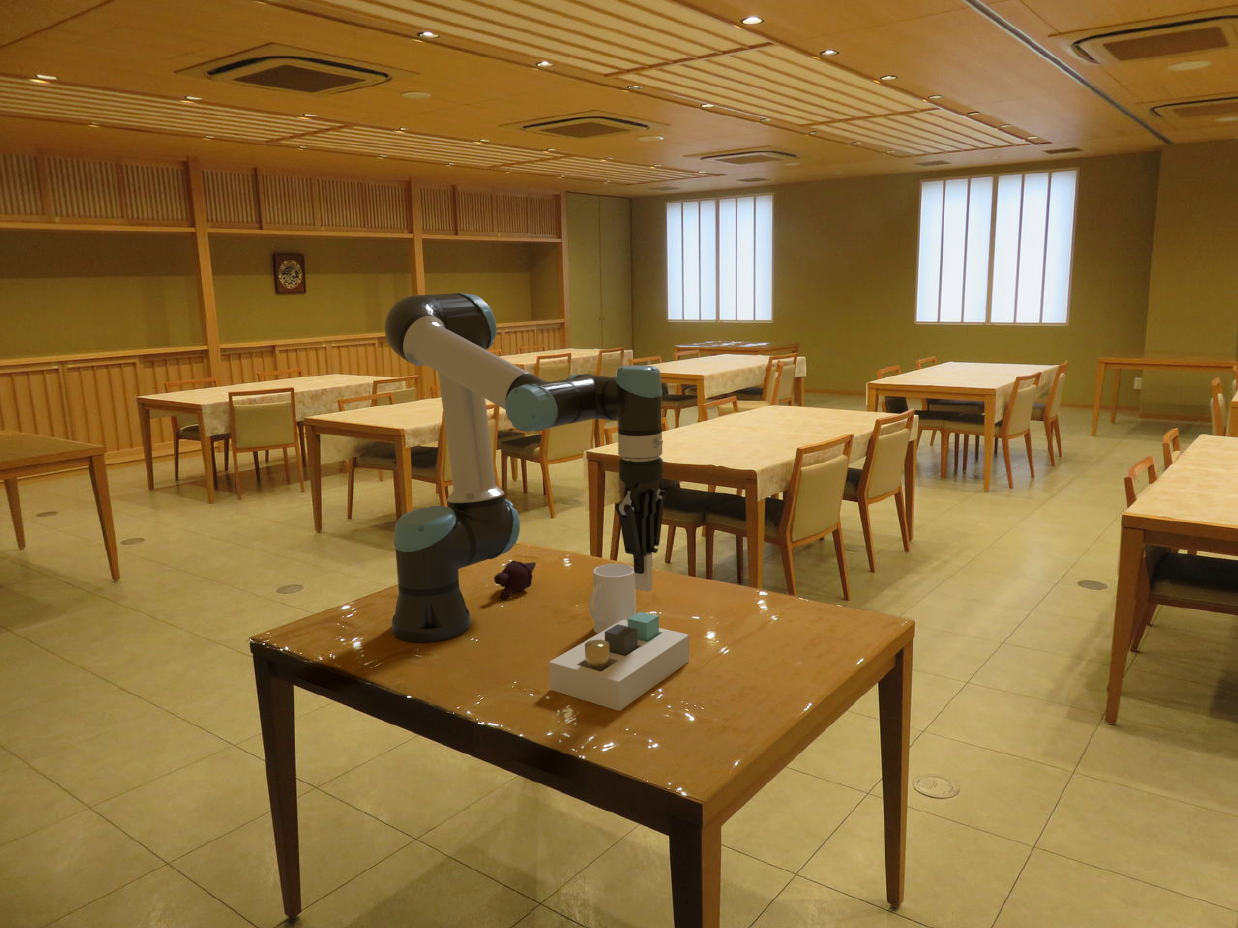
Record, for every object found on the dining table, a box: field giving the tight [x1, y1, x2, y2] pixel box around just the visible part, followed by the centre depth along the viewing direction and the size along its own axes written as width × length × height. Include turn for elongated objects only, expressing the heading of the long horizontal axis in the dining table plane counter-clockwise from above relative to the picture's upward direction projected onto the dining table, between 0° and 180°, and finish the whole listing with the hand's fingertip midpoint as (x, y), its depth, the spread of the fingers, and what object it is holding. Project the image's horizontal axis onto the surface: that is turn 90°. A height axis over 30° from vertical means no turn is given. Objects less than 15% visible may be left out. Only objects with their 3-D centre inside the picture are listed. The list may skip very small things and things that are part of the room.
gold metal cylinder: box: [585, 640, 610, 671], centre depth 149 cm, size 4×4×4 cm
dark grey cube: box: [605, 624, 638, 656], centre depth 154 cm, size 4×4×4 cm
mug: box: [588, 563, 637, 635], centre depth 174 cm, size 12×8×12 cm
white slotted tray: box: [548, 619, 690, 712], centre depth 155 cm, size 14×22×5 cm, turn 146°
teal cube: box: [628, 611, 660, 642], centre depth 160 cm, size 4×4×4 cm
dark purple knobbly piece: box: [493, 560, 537, 601], centre depth 198 cm, size 7×7×15 cm
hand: (643, 588), depth 158 cm, fingers closed
